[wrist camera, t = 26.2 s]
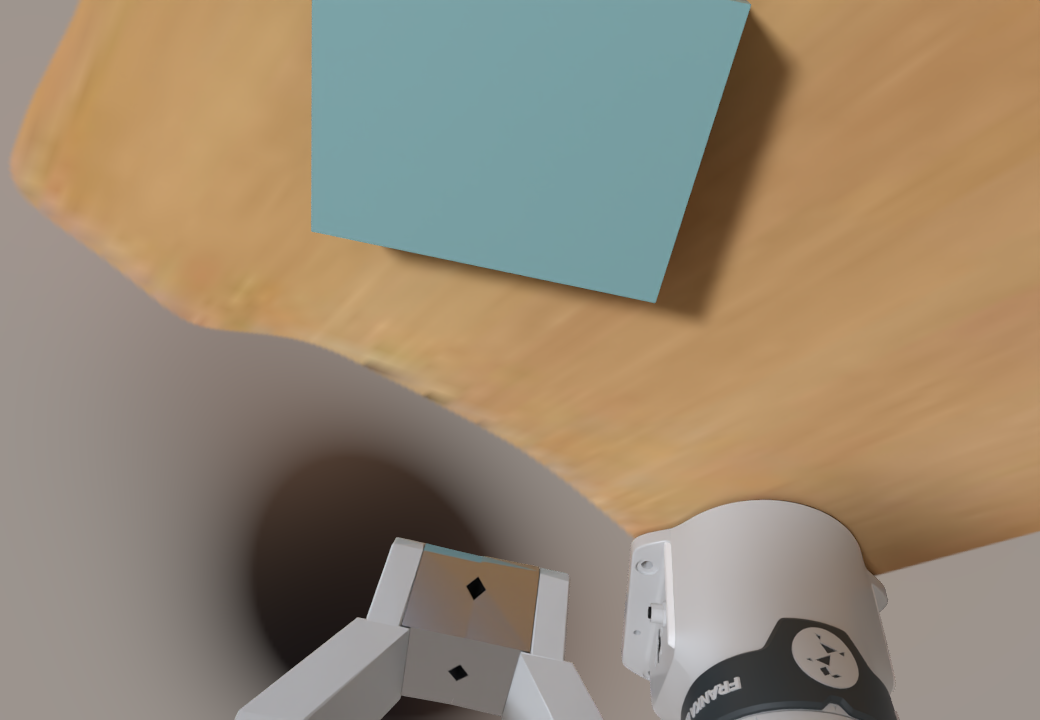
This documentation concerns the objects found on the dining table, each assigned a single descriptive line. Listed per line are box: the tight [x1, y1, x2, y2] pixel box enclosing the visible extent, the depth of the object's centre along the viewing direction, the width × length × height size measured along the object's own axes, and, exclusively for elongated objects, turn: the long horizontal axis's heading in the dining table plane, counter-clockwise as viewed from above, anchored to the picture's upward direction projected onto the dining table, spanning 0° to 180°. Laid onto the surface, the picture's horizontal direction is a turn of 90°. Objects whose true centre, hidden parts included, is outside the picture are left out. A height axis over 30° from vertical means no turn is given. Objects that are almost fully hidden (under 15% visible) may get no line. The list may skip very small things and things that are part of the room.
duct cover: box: [311, 0, 751, 303], centre depth 33 cm, size 14×18×1 cm
